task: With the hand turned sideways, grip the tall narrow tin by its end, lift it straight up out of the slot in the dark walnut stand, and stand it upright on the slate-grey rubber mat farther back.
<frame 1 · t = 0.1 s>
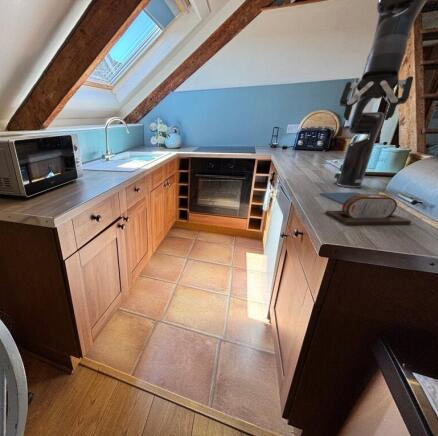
hand: (365, 119, 68), 31 cm above the countertop, tool tilted 20°, fingers open, 8 cm apart
tin: (365, 219, 82), resting in stand
stand: (365, 218, 82), on the countertop
mat: (350, 198, 102), on the countertop
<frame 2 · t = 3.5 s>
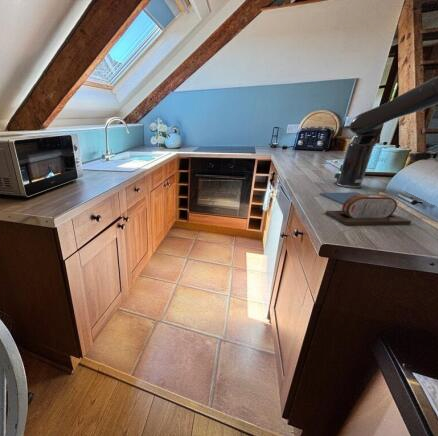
hand: (427, 158, 75), 20 cm above the countertop, tool horizontal, fingers open, 8 cm apart
nothing on the countertop moved.
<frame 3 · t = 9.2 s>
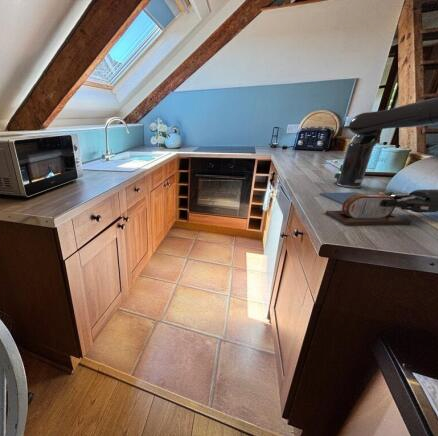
hand: (377, 201, 80), 6 cm above the countertop, tool horizontal, fingers closed on tin, 3 cm apart
tin: (365, 219, 82), resting in stand, touching gripper
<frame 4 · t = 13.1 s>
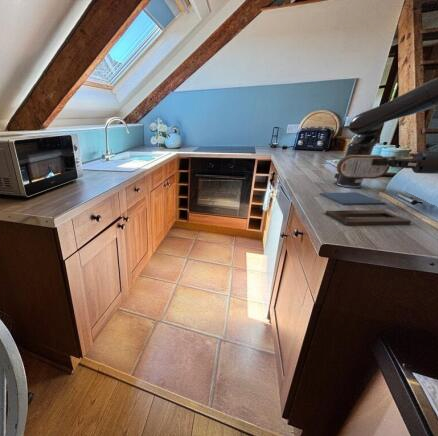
hand: (371, 161, 88), 17 cm above the countertop, tool horizontal, fingers closed on tin, 2 cm apart
tin: (359, 178, 91), point 10 cm above the countertop, touching gripper
when the fingers open (7 cm above the countertop, at t = 17.3 s): tin stays where it is, resting on mat.
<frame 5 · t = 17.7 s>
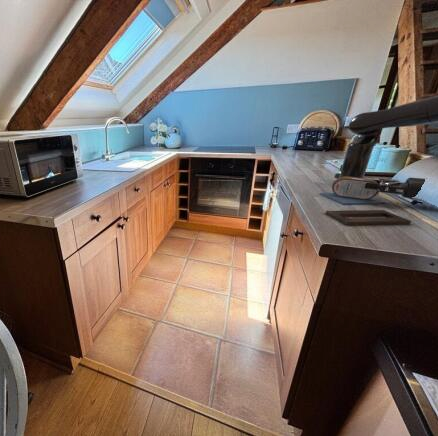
hand: (364, 183, 97), 7 cm above the countertop, tool horizontal, fingers open, 7 cm apart
tin: (351, 198, 101), resting on mat
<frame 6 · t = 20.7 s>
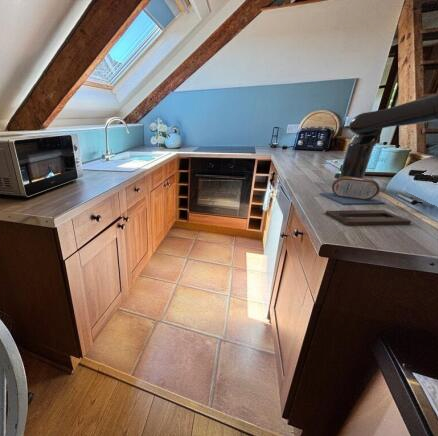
hand: (411, 174, 89), 12 cm above the countertop, tool horizontal, fingers open, 8 cm apart
nothing on the countertop moved.
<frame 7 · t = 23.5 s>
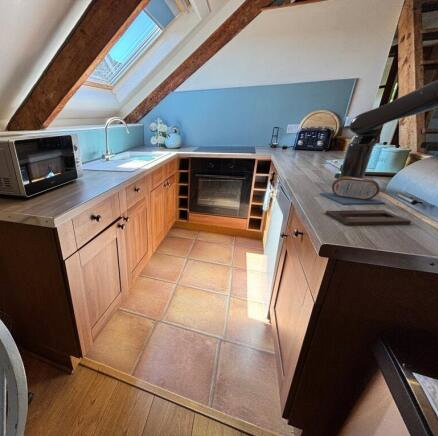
hand: (423, 145, 85), 22 cm above the countertop, tool horizontal, fingers open, 8 cm apart
nothing on the countertop moved.
at the end: tin inside the target area on the mat (0.5 cm from its centre), point 0.3 cm above the mat's base; tin tilted 0°; the gripper is holding nothing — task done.
